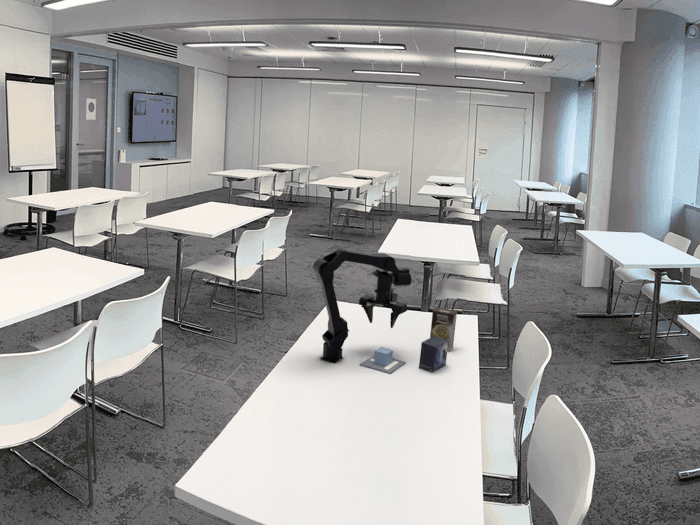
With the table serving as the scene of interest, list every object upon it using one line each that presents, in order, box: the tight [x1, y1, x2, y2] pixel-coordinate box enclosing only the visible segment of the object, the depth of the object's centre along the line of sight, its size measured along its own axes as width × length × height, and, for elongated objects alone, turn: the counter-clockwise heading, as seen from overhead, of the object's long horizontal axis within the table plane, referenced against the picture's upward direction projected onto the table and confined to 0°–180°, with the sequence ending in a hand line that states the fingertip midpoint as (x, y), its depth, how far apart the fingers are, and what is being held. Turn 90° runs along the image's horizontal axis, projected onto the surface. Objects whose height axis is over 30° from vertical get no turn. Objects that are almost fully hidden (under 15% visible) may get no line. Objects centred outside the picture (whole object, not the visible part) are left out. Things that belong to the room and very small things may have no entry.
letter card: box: [359, 354, 407, 375], centre depth 220 cm, size 13×13×1 cm
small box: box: [418, 336, 449, 373], centre depth 220 cm, size 11×6×10 cm, turn 143°
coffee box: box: [429, 306, 458, 352], centre depth 240 cm, size 9×6×16 cm
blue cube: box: [374, 346, 394, 366], centre depth 220 cm, size 5×5×5 cm
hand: (381, 325), depth 227 cm, fingers open, 9 cm apart
